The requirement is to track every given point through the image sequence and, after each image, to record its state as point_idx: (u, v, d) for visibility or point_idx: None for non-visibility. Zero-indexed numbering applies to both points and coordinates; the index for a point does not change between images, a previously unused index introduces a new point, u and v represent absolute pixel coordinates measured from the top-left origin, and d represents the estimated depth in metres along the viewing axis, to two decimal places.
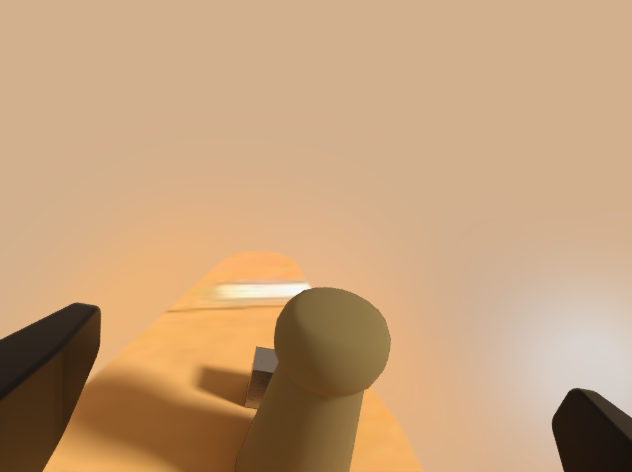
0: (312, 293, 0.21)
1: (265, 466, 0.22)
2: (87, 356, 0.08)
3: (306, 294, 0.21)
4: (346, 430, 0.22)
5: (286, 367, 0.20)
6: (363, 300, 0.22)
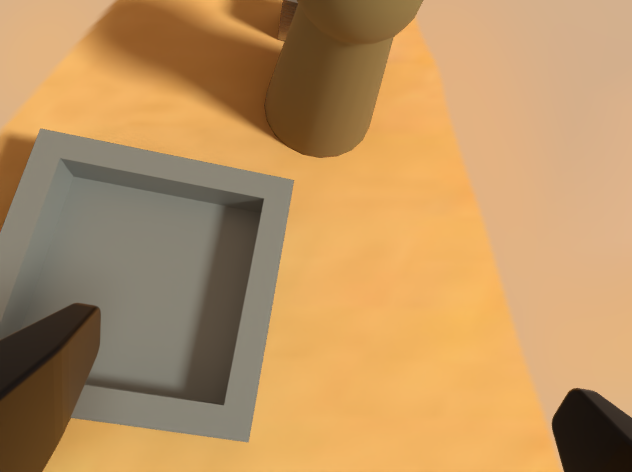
0: None
1: (288, 103, 0.23)
2: (87, 356, 0.08)
3: None
4: (368, 78, 0.21)
5: (302, 5, 0.18)
6: None
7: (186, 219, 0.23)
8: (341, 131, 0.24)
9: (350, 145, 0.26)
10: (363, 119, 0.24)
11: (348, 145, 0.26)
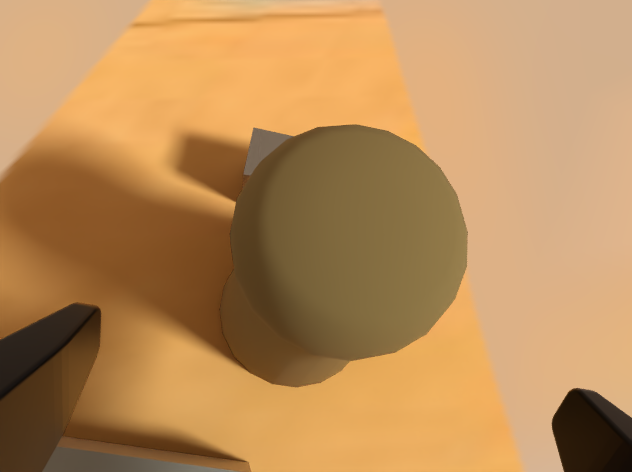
0: (310, 159, 0.09)
1: (245, 344, 0.16)
2: (87, 356, 0.08)
3: (297, 159, 0.09)
4: None
5: (249, 301, 0.10)
6: (426, 175, 0.10)
7: None
8: (324, 374, 0.17)
9: (338, 371, 0.18)
10: None
11: (335, 372, 0.18)
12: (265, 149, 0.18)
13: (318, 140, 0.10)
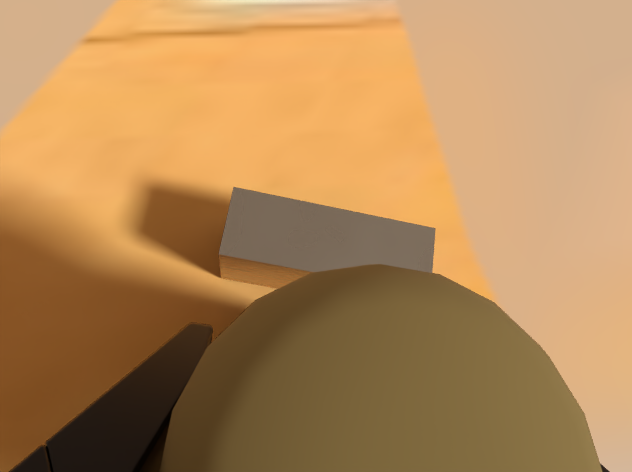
0: (308, 373, 0.05)
1: None
2: None
3: (281, 374, 0.05)
4: None
5: None
6: (534, 390, 0.05)
7: None
8: None
9: None
10: None
11: None
12: (249, 217, 0.13)
13: (323, 324, 0.05)
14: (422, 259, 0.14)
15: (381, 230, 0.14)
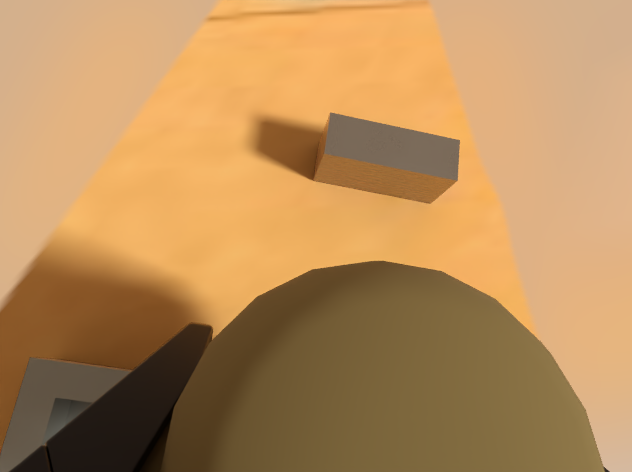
0: (310, 369, 0.05)
1: None
2: None
3: (283, 370, 0.05)
4: None
5: None
6: (535, 386, 0.05)
7: None
8: None
9: None
10: None
11: None
12: (341, 131, 0.21)
13: (325, 320, 0.05)
14: (451, 159, 0.21)
15: (425, 141, 0.21)
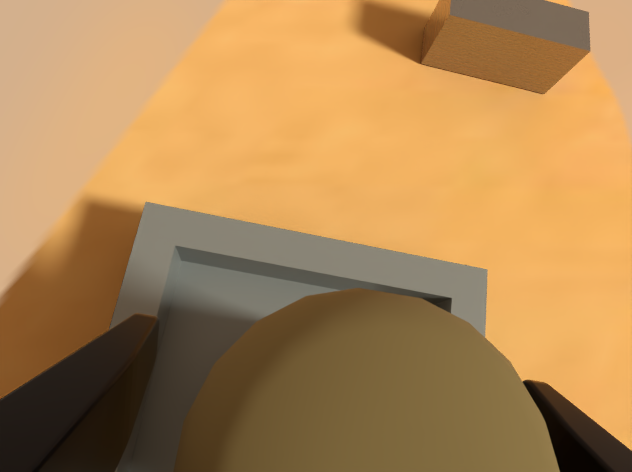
0: (303, 390, 0.05)
1: None
2: (148, 366, 0.08)
3: (279, 391, 0.05)
4: None
5: None
6: (500, 403, 0.06)
7: None
8: None
9: None
10: None
11: None
12: None
13: (316, 347, 0.06)
14: (582, 30, 0.19)
15: (552, 10, 0.20)
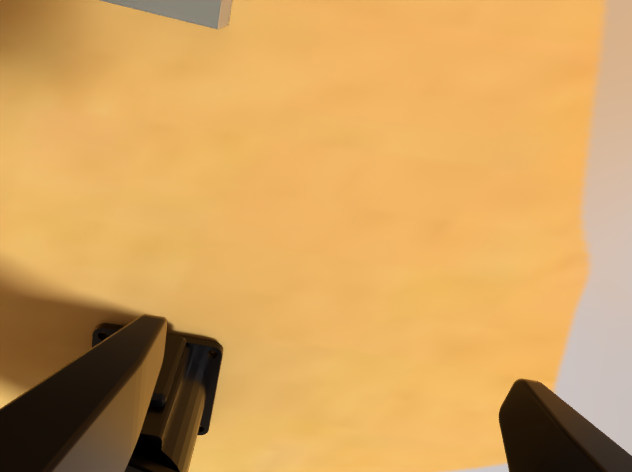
0: None
1: None
2: (156, 367, 0.08)
3: None
4: None
5: None
6: None
7: None
8: None
9: None
10: None
11: None
12: None
13: None
14: None
15: None
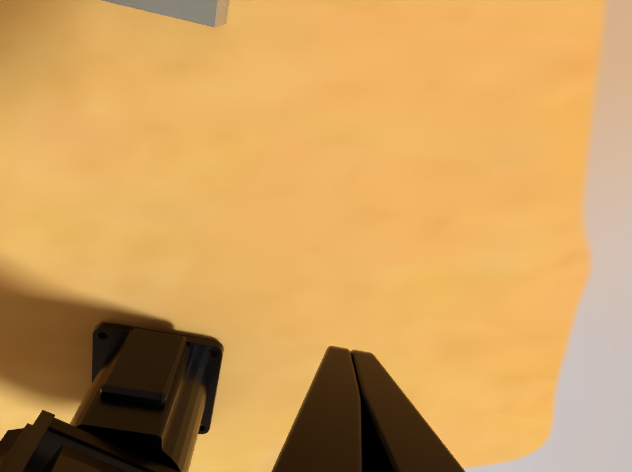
0: None
1: None
2: None
3: None
4: None
5: None
6: None
7: None
8: None
9: None
10: None
11: None
12: None
13: None
14: None
15: None
